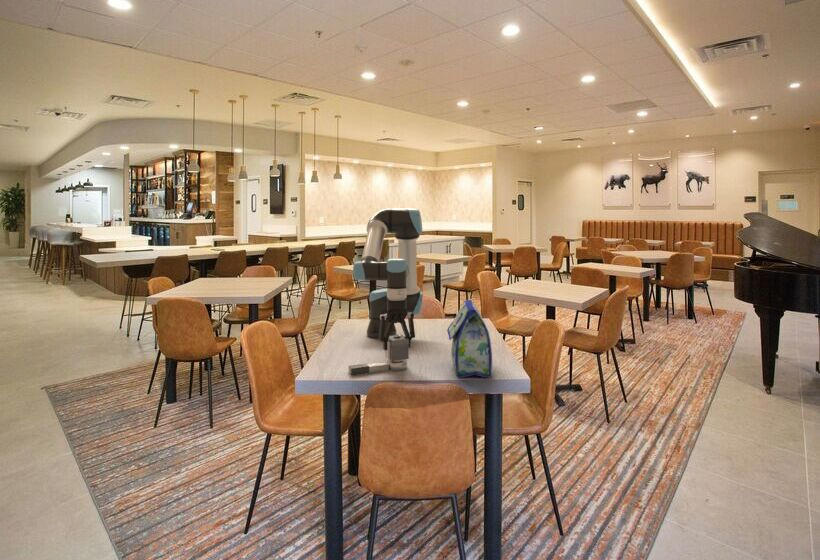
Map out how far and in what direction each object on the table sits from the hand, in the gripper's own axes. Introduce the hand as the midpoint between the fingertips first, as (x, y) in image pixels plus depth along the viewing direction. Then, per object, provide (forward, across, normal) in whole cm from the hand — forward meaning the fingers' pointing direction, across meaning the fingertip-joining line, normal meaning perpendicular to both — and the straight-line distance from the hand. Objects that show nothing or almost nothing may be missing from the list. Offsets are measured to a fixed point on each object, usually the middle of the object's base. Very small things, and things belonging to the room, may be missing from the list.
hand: (397, 356), depth 187 cm
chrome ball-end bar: (+4, -8, 0) cm, 9 cm away
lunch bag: (+5, +25, -13) cm, 29 cm away
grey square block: (0, 0, 0) cm, 0 cm away
